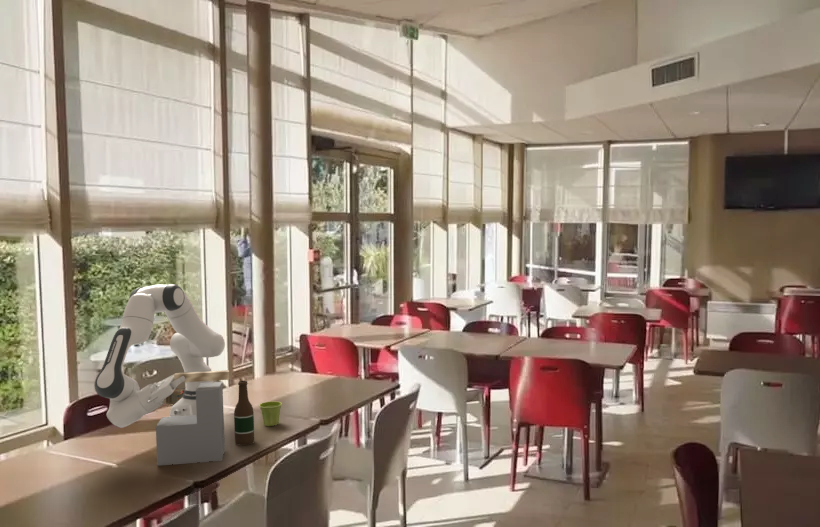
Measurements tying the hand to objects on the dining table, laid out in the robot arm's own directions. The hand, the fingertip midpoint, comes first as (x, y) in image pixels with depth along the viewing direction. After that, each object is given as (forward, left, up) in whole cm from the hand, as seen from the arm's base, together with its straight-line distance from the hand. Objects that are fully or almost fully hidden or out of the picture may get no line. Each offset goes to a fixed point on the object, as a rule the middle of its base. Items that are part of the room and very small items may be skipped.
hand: (185, 376), depth 250 cm
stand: (+1, +1, -30) cm, 30 cm away
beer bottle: (+9, +22, -30) cm, 38 cm away
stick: (+5, +3, -2) cm, 6 cm away
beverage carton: (-52, +66, -31) cm, 90 cm away
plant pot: (+6, +46, -30) cm, 55 cm away
